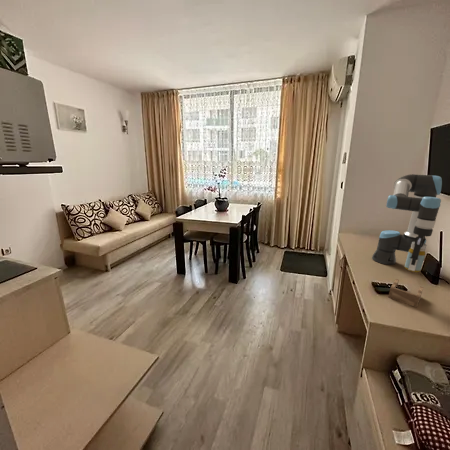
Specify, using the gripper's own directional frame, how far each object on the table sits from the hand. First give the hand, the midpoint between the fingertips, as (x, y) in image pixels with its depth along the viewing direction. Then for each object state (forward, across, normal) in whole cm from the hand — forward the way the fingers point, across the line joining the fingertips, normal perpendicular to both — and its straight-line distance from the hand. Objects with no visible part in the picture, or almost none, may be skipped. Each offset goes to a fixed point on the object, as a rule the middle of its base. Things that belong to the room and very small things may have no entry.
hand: (412, 267), depth 132 cm
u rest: (+17, +1, 0) cm, 17 cm away
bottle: (+1, 0, 0) cm, 1 cm away
